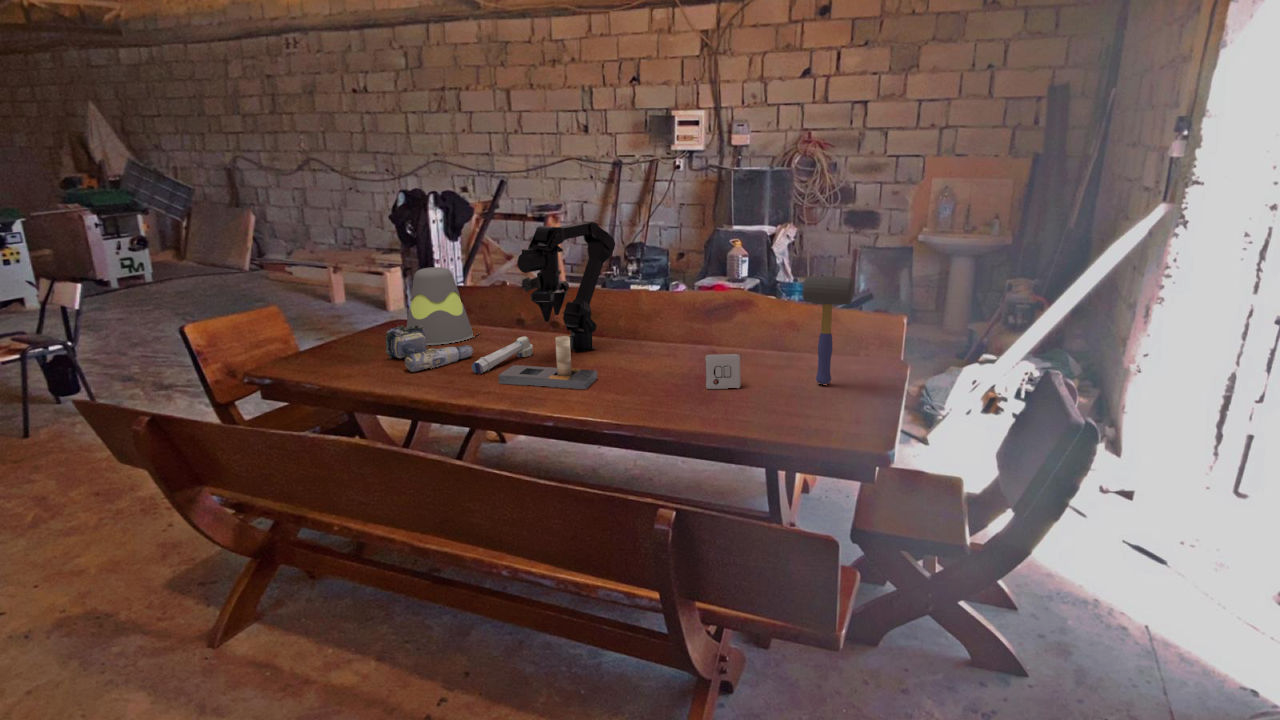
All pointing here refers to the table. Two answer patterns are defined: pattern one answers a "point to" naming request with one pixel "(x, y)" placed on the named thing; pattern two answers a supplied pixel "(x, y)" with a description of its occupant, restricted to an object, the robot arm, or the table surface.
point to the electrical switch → (722, 371)
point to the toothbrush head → (503, 355)
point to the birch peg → (563, 356)
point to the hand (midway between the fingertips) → (551, 318)
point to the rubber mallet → (826, 313)
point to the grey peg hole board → (547, 377)
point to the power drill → (420, 349)
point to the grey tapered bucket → (438, 307)
